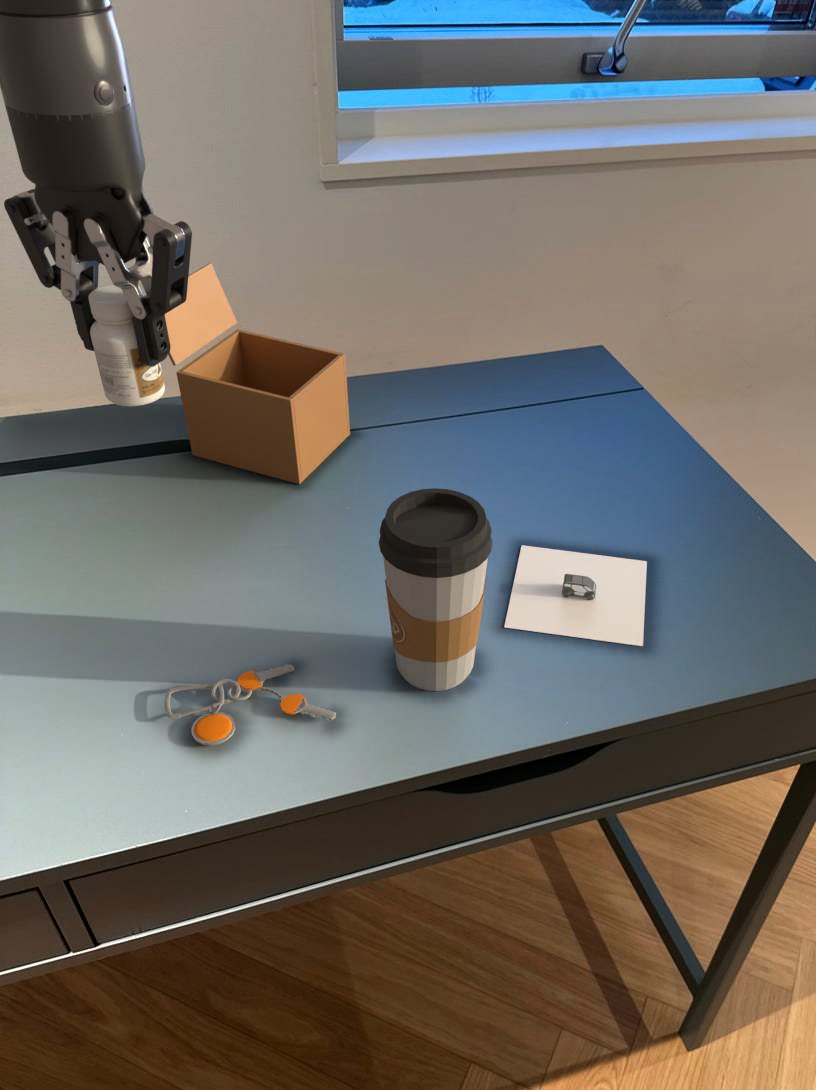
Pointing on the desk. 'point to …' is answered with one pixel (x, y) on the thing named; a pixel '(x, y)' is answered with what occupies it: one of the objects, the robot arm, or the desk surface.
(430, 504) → the coffee cup
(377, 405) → the desk surface
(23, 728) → the desk surface
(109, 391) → the pill bottle
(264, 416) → the carton
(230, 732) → the key chain
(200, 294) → the bin flap
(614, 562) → the white square mat
